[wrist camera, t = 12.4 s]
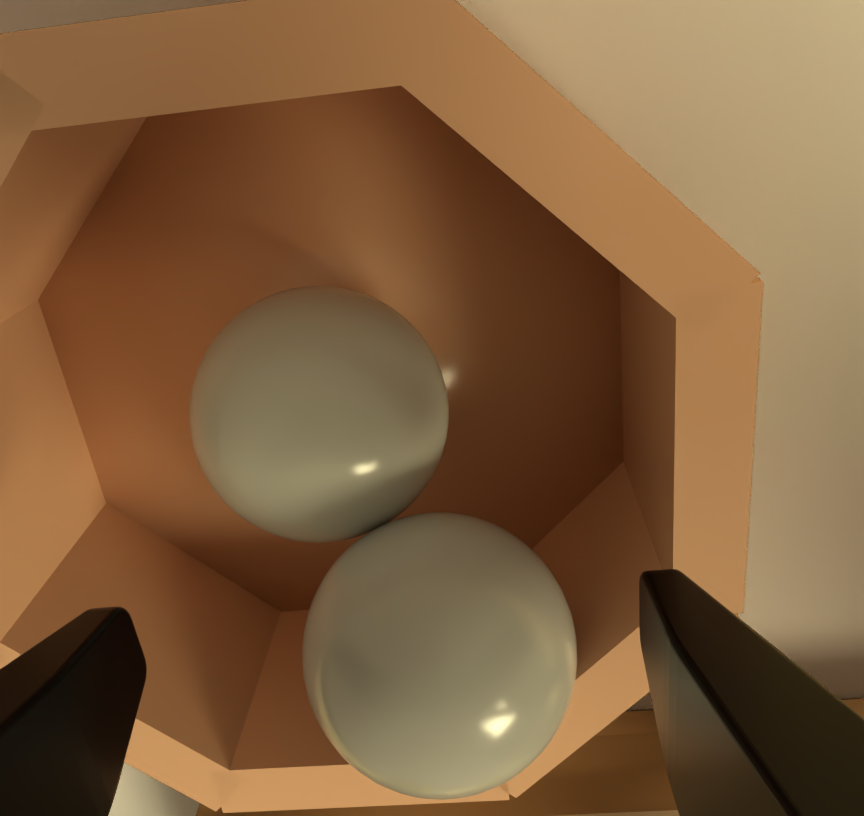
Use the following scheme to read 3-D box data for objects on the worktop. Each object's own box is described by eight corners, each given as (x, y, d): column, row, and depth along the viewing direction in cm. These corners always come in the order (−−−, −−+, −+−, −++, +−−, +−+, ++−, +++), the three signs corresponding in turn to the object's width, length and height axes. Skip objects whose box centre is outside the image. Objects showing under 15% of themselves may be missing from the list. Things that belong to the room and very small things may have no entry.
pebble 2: (498, 497, 9) (685, 690, 10) (406, 435, 12) (553, 583, 13) (257, 754, 8) (481, 921, 9) (232, 614, 12) (399, 750, 13)
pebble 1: (442, 268, 13) (435, 288, 9) (457, 486, 13) (456, 580, 10) (217, 284, 13) (126, 309, 9) (245, 498, 14) (170, 595, 10)
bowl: (670, -36, 11) (783, -72, 7) (665, 597, 16) (732, 789, 12) (-70, 62, 12) (-335, 78, 8) (129, 631, 17) (22, 821, 13)
